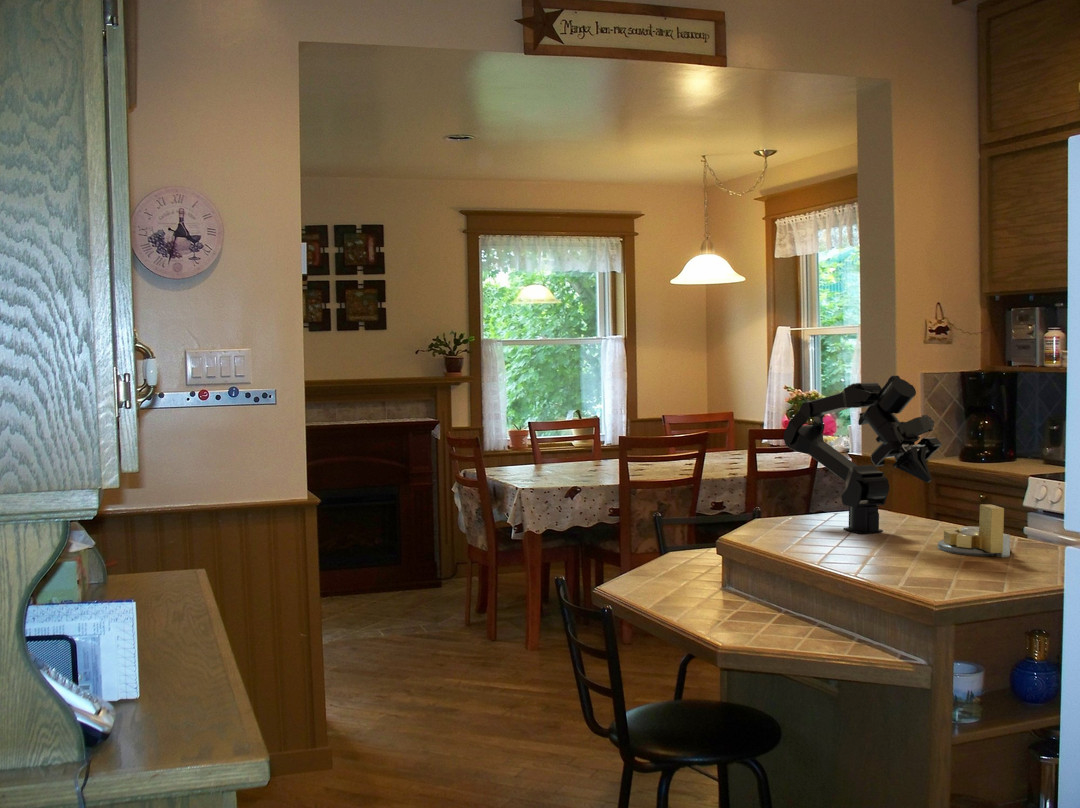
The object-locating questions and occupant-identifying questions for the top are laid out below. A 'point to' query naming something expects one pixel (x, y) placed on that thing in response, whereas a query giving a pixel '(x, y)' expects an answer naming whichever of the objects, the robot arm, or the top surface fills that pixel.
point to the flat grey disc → (975, 551)
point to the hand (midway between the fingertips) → (929, 481)
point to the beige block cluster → (981, 531)
